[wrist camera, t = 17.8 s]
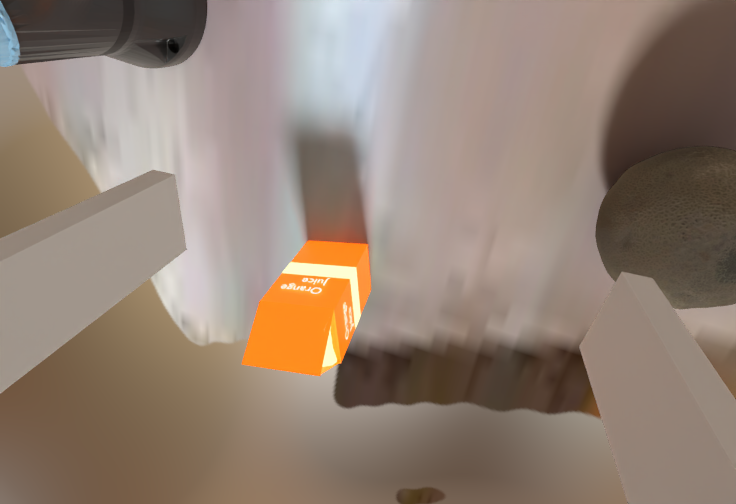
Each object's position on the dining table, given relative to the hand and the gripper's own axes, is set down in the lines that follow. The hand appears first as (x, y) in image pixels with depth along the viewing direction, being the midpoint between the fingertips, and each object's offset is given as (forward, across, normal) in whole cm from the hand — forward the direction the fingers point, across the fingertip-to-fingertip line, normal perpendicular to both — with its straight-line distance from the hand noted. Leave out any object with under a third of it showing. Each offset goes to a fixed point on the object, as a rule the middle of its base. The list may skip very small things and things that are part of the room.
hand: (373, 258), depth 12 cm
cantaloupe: (+35, +23, -7) cm, 42 cm away
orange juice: (+35, -10, -25) cm, 44 cm away
